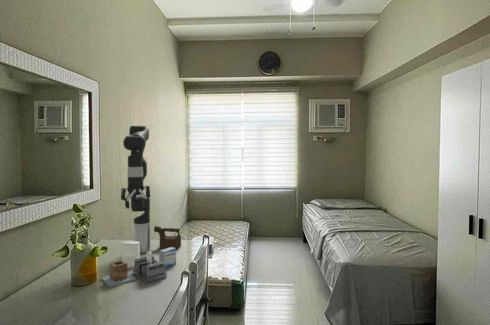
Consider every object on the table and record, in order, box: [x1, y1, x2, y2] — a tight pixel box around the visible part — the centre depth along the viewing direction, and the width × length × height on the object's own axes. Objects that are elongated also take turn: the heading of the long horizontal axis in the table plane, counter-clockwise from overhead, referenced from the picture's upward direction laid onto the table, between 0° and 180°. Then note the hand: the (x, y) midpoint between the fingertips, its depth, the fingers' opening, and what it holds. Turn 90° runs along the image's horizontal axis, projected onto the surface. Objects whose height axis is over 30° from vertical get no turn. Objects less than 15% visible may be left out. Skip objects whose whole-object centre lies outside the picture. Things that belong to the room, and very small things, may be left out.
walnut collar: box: [109, 259, 129, 281], centre depth 150 cm, size 6×6×7 cm
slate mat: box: [100, 270, 137, 288], centre depth 150 cm, size 12×12×1 cm
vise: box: [132, 250, 168, 284], centre depth 155 cm, size 16×10×12 cm, turn 41°
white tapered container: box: [121, 240, 141, 269], centre depth 169 cm, size 9×9×12 cm
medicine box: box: [158, 247, 177, 269], centre depth 168 cm, size 8×4×9 cm, turn 143°
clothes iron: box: [153, 225, 182, 251], centre depth 198 cm, size 8×16×13 cm, turn 83°
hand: (136, 207), depth 162 cm, fingers open, 8 cm apart
